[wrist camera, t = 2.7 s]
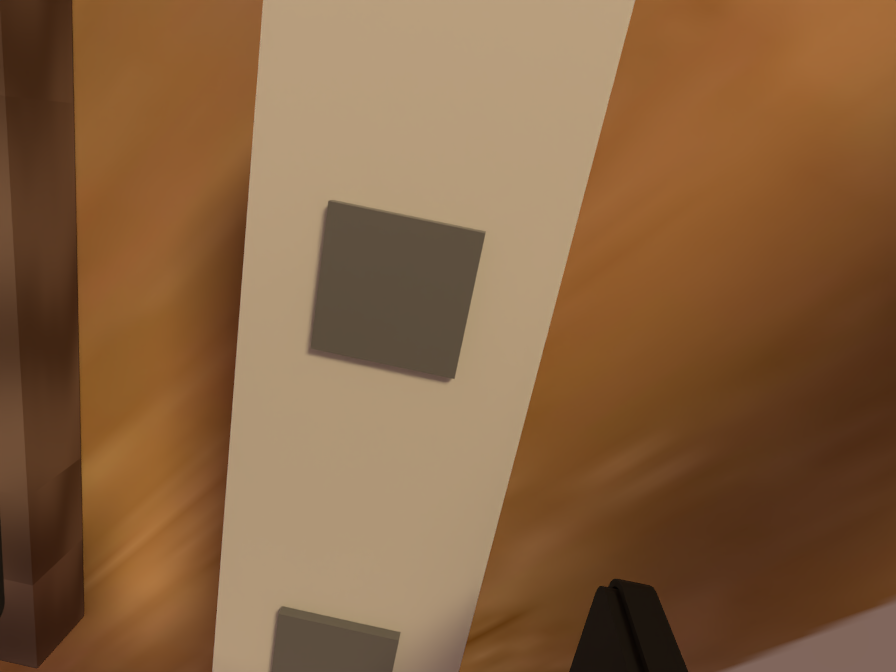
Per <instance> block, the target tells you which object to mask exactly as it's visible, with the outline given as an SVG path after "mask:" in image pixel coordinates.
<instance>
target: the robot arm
mask: <svg viewBox="0 0 896 672" xmlns="http://www.w3.org/2000/svg"><path fill="white" fill-rule="evenodd" d="M4 605H5V596H4V577H3V558H2V539H1V520H0V617H1V615H2V613H3V609H4ZM569 672H688V670H687V668H686V665H685V663H684V660H683V658H682V655H681V653H680V650H679V648H678V645H677V643H676V640H675V638H674V635H673V633H672V630H671V628H670V625H669V623H668V620H667V618H666V615H665V613H664V610H663V608H662V605H661V603H660V600H659V598H658V596H657V593H656V591H655V590H654V588H653V587H652V586H650V585H645V584H640V583H635V582H630V581H625V580H620V579H613V580H612V581H611V582H610V584H609V586H608V587H604V586H599V588H598V589H597V591H596V593H595V596H594V599H593V602H592V605H591V608H590V611H589V614H588V617H587V620H586V623H585V626H584V629H583V632H582V635H581V638H580V641H579V644H578V647H577V650H576V653H575V656H574V659H573V662H572V665H571V668H570V671H569Z"/></svg>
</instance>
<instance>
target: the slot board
mask: <svg viewBox="0 0 896 672" xmlns="http://www.w3.org/2000/svg"><path fill="white" fill-rule="evenodd" d="M0 520H1V539H2V558H3V577H4V596H5V605H4V609H3V613H2V615H1V617H0V660H2V661H6V662H11V663H15V664H20V665H24V666H28V667H33V668H38V667H39V666H40V665H41V664H42V663H43V662H44V660H45V659H46V658H47V657H48V656H49V655H50V654H51V653H52V651H53V650H54V649H55V648H56V647H57V646H58V645H59V644H60V642H61V641H62V640H63V639H64V638H65V637H66V636H67V634H68V633H69V632H70V631H71V630H72V629H73V628H74V627H75V625H76V624H77V623H78V622H79V621H80V620H81V619H82V618H83V616H84V589H83V540H82V490H81V441H80V391H79V341H78V292H77V242H76V193H75V143H74V94H73V44H72V0H0Z"/></svg>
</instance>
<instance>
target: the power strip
mask: <svg viewBox="0 0 896 672" xmlns="http://www.w3.org/2000/svg"><path fill="white" fill-rule="evenodd" d="M634 2H635V0H263V11H262V24H261V37H260V50H259V63H258V76H257V89H256V103H255V116H254V129H253V142H252V155H251V168H250V181H249V195H248V208H247V221H246V234H245V247H244V260H243V273H242V287H241V300H240V313H239V326H238V339H237V352H236V365H235V379H234V392H233V405H232V418H231V431H230V444H229V458H228V471H227V484H226V497H225V510H224V523H223V536H222V550H221V563H220V576H219V589H218V602H217V615H216V628H215V642H214V655H213V668H212V672H459V668H460V665H461V661H462V657H463V653H464V649H465V646H466V642H467V638H468V634H469V630H470V627H471V623H472V619H473V615H474V611H475V608H476V604H477V600H478V596H479V592H480V589H481V585H482V581H483V577H484V573H485V569H486V566H487V562H488V558H489V554H490V550H491V547H492V543H493V539H494V535H495V531H496V528H497V524H498V520H499V516H500V512H501V509H502V505H503V501H504V497H505V493H506V490H507V486H508V482H509V478H510V474H511V471H512V467H513V463H514V459H515V455H516V452H517V448H518V444H519V440H520V436H521V432H522V429H523V425H524V421H525V417H526V413H527V410H528V406H529V402H530V398H531V394H532V391H533V387H534V383H535V379H536V375H537V372H538V368H539V364H540V360H541V356H542V353H543V349H544V345H545V341H546V337H547V334H548V330H549V326H550V322H551V318H552V315H553V311H554V307H555V303H556V299H557V295H558V292H559V288H560V284H561V280H562V276H563V273H564V269H565V265H566V261H567V257H568V254H569V250H570V246H571V242H572V238H573V235H574V231H575V227H576V223H577V219H578V216H579V212H580V208H581V204H582V200H583V197H584V193H585V189H586V185H587V181H588V178H589V174H590V170H591V166H592V162H593V158H594V155H595V151H596V147H597V143H598V139H599V136H600V132H601V128H602V124H603V120H604V117H605V113H606V109H607V105H608V101H609V98H610V94H611V90H612V86H613V82H614V79H615V75H616V71H617V67H618V63H619V60H620V56H621V52H622V48H623V44H624V41H625V37H626V33H627V29H628V25H629V21H630V18H631V14H632V10H633V6H634Z"/></svg>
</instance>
